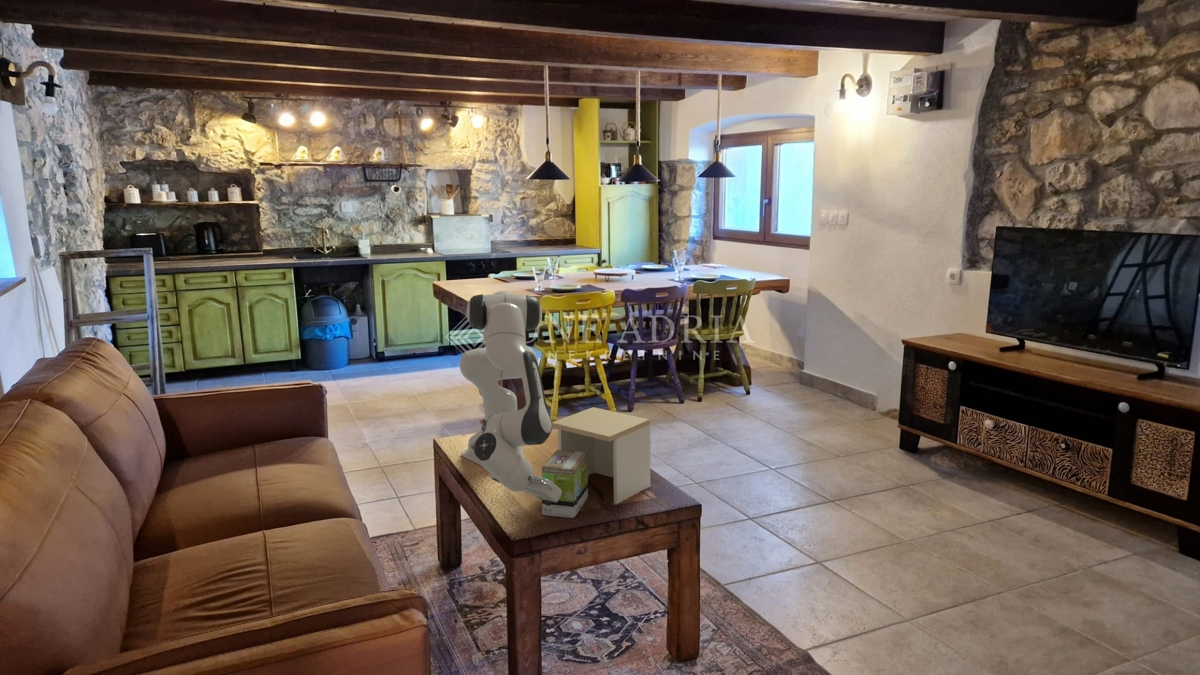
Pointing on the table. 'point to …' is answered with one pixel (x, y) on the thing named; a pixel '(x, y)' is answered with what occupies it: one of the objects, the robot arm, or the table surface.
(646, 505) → the table surface
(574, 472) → the tea box
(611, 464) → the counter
